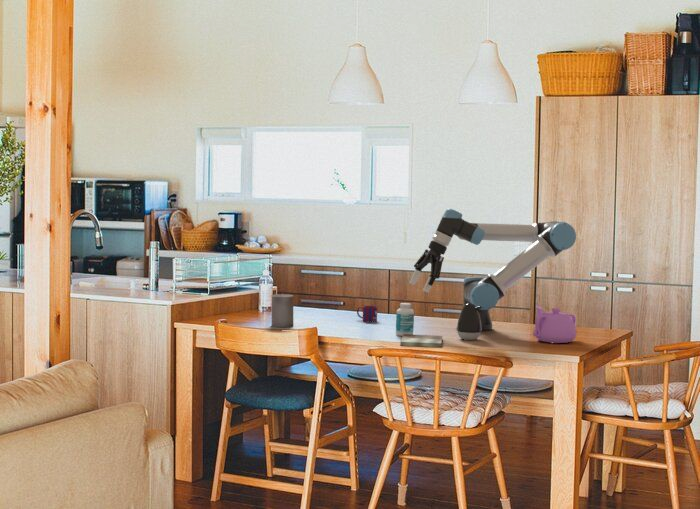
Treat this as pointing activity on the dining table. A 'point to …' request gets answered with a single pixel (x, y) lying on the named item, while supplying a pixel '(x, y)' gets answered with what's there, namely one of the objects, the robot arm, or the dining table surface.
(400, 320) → the pill bottle
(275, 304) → the pillar candle
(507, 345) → the dining table surface
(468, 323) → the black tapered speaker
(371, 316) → the mug
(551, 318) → the teapot
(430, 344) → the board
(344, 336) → the dining table surface
